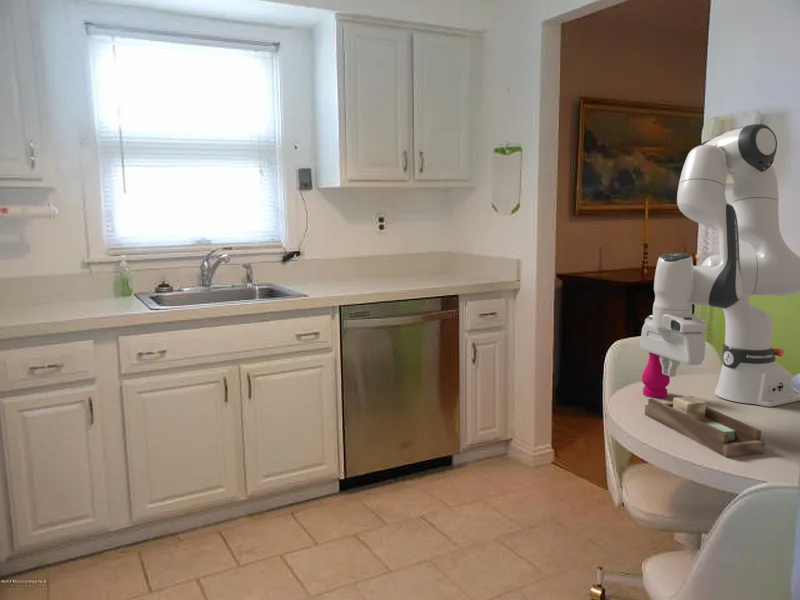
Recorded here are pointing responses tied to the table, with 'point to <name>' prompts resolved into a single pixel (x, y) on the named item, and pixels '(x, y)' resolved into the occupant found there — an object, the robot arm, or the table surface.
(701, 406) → the maple block
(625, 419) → the table surface
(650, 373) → the pepper mill
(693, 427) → the tray
